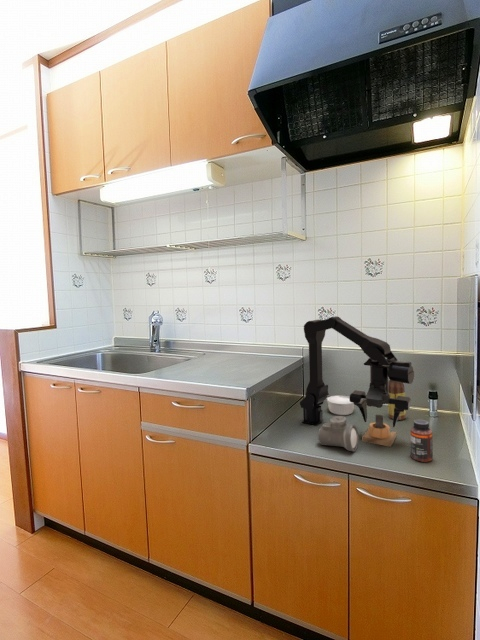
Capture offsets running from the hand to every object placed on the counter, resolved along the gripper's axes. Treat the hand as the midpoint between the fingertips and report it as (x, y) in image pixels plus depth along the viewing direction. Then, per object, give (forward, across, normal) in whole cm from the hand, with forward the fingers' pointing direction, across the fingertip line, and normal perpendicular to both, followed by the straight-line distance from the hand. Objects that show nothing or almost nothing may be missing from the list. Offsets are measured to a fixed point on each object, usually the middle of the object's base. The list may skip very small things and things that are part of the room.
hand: (379, 424), depth 123 cm
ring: (+4, 0, 0) cm, 4 cm away
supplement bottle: (+5, +14, -8) cm, 17 cm away
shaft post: (+5, 0, 0) cm, 5 cm away
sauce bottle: (+5, +1, +23) cm, 24 cm away
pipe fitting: (+5, -10, -13) cm, 17 cm away
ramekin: (+5, -20, +20) cm, 29 cm away
